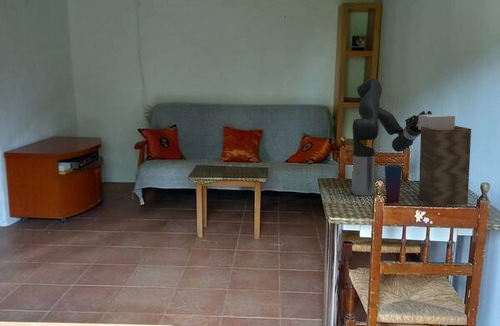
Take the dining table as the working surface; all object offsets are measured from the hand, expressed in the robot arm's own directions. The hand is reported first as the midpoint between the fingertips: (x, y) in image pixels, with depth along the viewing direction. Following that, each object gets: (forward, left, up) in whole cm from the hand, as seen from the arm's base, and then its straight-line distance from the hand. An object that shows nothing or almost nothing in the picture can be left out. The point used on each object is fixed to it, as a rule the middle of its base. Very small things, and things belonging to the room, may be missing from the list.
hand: (427, 112), depth 202 cm
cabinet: (0, -18, -35) cm, 39 cm away
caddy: (0, -4, -6) cm, 8 cm away
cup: (-20, -16, -35) cm, 43 cm away
